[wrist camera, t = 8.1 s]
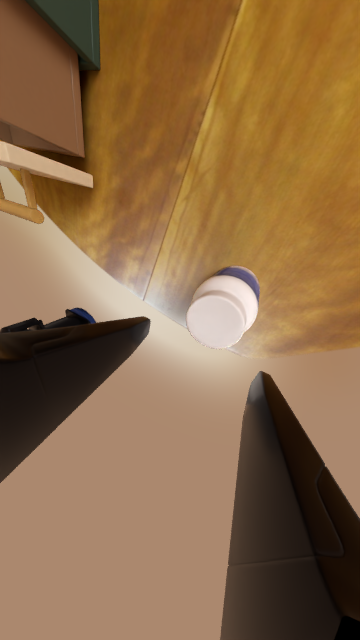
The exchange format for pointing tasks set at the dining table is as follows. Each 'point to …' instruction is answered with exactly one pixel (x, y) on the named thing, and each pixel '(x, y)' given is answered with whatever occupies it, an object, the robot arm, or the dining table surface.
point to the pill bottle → (224, 307)
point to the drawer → (37, 103)
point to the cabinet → (74, 26)
